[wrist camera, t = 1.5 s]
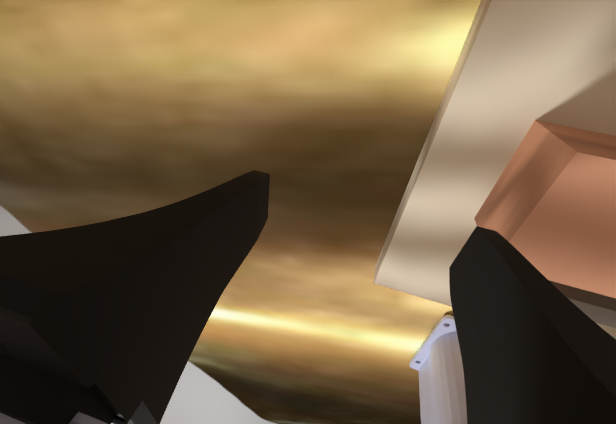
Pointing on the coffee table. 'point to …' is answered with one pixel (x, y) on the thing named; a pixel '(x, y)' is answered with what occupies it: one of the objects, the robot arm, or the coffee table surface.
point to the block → (560, 205)
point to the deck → (501, 131)
